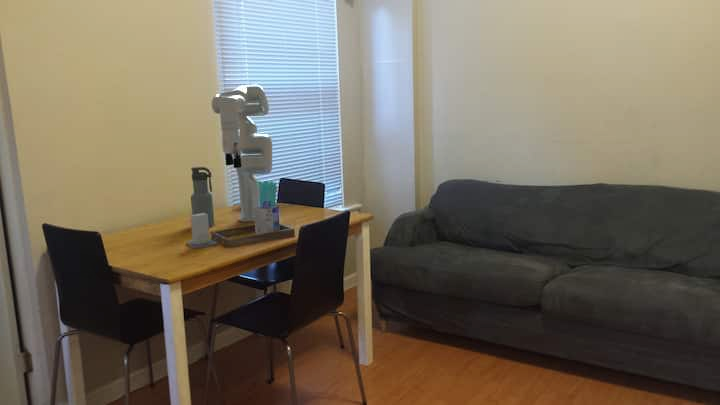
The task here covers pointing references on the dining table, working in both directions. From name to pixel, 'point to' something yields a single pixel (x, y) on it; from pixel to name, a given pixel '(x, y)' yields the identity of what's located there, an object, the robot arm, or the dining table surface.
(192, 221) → the skincare box
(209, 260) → the dining table surface
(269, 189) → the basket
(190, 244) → the pad
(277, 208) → the ink cartridge box
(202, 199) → the water bottle
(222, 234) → the tray frame
